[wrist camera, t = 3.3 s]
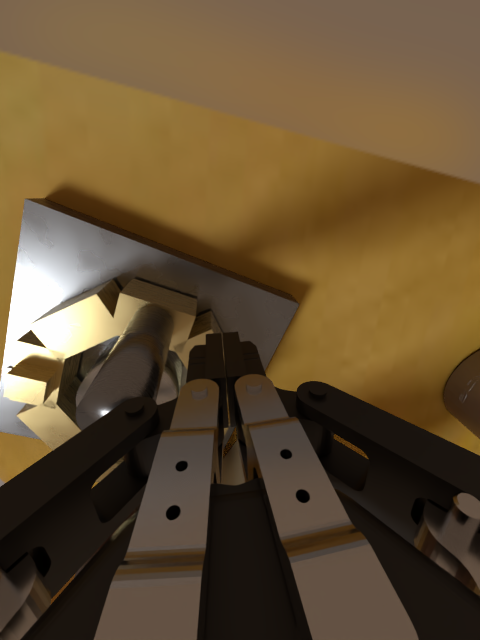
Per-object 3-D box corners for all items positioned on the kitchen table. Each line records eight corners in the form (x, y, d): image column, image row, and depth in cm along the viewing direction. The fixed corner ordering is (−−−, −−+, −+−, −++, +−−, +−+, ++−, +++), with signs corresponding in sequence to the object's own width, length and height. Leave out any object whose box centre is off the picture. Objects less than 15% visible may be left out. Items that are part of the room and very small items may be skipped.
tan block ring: (259, 319, 20) (306, 431, 11) (199, 453, 25) (194, 614, 15) (54, 252, 17) (-144, 325, 7) (28, 420, 22) (-114, 599, 12)
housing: (291, 295, 22) (319, 327, 17) (211, 454, 28) (212, 516, 23) (43, 198, 18) (-30, 199, 12) (10, 412, 24) (-49, 477, 18)
